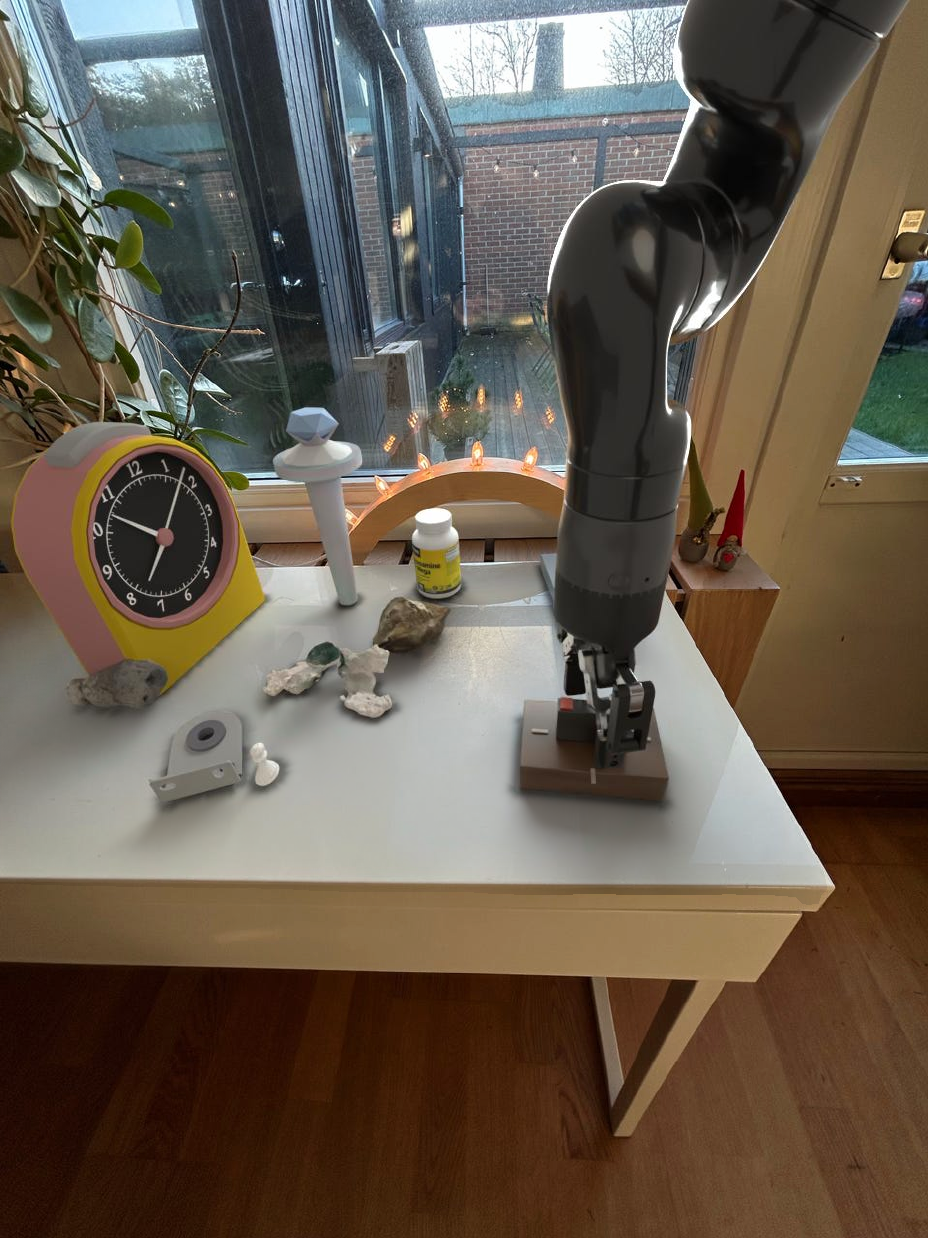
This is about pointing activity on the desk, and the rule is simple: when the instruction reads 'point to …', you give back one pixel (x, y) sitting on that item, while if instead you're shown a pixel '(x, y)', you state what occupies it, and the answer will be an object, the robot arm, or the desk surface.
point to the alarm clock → (133, 547)
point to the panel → (585, 761)
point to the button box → (549, 571)
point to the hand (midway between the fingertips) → (589, 725)
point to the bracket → (202, 756)
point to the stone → (120, 685)
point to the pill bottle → (436, 554)
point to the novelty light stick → (324, 487)
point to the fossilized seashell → (409, 625)
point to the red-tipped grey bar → (576, 720)
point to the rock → (349, 668)
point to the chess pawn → (263, 765)
